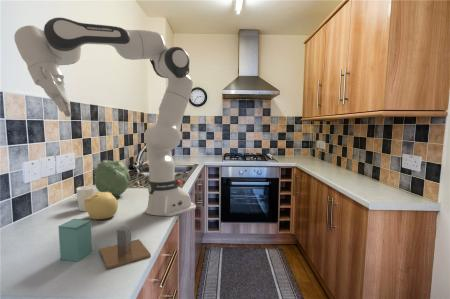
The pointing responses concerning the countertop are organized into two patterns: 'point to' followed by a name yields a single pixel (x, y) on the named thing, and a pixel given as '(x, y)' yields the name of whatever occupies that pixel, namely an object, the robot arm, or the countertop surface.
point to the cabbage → (111, 177)
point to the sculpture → (101, 205)
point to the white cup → (84, 195)
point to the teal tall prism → (75, 239)
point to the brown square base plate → (123, 250)
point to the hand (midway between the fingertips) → (66, 113)
